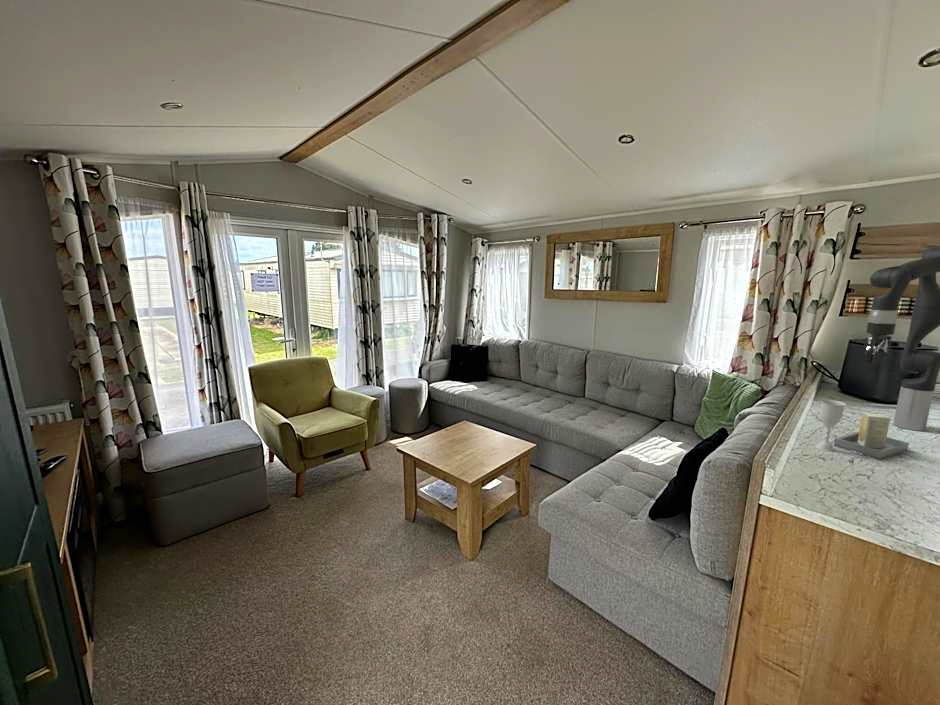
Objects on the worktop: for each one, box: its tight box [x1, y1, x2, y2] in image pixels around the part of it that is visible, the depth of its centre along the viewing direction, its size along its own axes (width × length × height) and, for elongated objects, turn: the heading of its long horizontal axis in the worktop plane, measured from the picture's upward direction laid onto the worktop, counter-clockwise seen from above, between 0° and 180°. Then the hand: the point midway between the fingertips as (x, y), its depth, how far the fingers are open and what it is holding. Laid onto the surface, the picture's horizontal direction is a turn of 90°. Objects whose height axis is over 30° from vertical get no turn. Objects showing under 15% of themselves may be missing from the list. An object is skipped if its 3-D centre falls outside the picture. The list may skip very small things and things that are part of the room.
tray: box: [833, 431, 910, 461], centre depth 144 cm, size 20×13×3 cm, turn 113°
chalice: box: [815, 398, 847, 452], centre depth 142 cm, size 7×7×18 cm
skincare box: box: [857, 412, 891, 449], centre depth 143 cm, size 6×4×12 cm
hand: (873, 362), depth 152 cm, fingers open, 8 cm apart
